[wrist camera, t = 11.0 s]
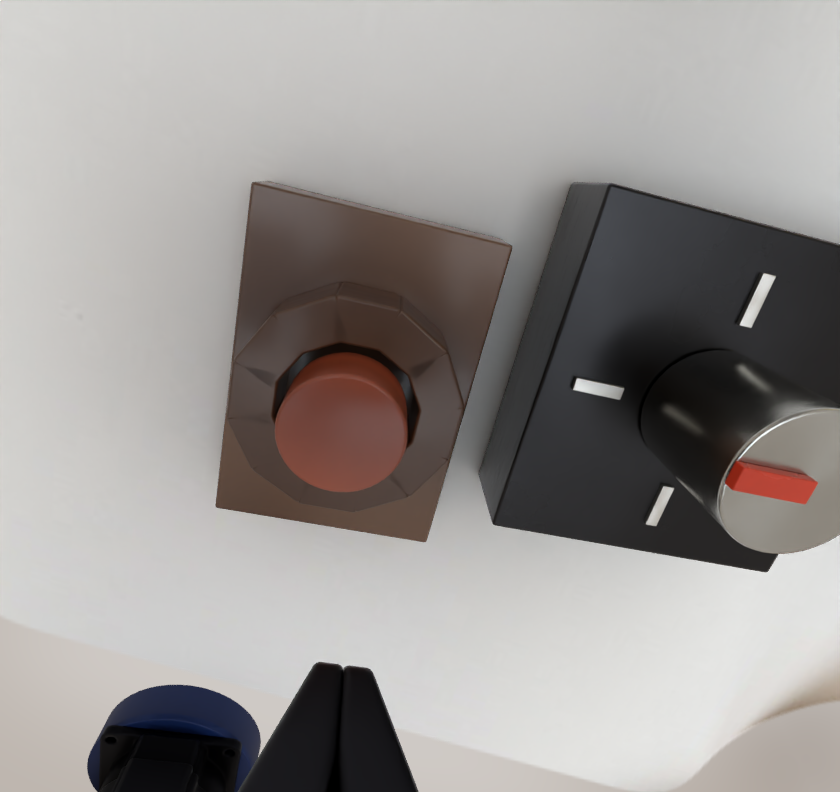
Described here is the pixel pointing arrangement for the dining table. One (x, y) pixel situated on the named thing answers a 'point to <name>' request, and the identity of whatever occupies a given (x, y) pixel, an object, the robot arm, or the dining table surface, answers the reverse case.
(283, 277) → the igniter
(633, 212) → the panel
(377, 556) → the dining table surface
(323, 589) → the dining table surface
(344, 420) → the button
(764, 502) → the dial
